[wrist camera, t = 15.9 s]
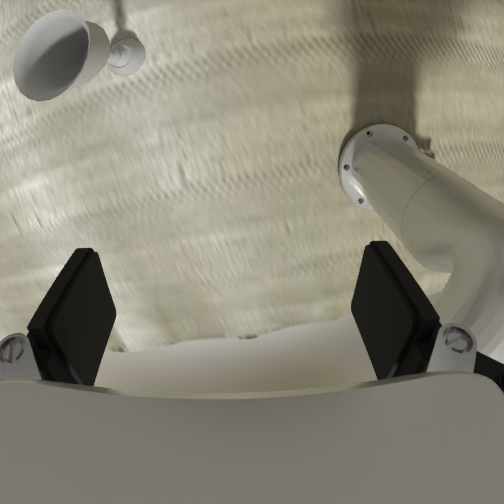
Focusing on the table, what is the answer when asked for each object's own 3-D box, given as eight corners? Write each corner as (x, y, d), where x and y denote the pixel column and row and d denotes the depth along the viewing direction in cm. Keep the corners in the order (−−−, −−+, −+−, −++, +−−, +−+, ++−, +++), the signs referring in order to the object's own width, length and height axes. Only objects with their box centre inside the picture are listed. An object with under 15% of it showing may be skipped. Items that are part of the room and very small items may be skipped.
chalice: (132, 20, 27) (60, -8, 12) (164, 55, 31) (109, 46, 15) (89, 60, 29) (0, 66, 14) (120, 94, 33) (43, 120, 18)
